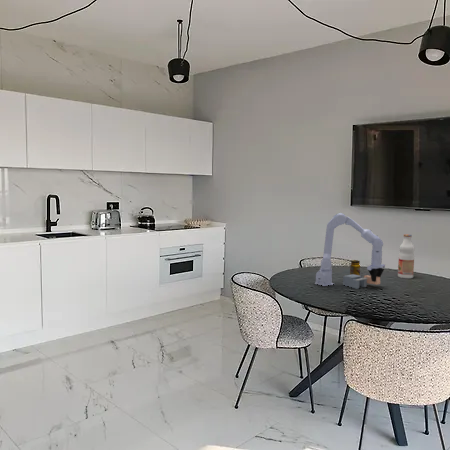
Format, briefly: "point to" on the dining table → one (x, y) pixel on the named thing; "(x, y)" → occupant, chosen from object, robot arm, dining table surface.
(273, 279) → the dining table surface
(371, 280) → the peach rectangular block
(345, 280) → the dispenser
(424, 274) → the dining table surface
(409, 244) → the fruit juice
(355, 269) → the condiment
